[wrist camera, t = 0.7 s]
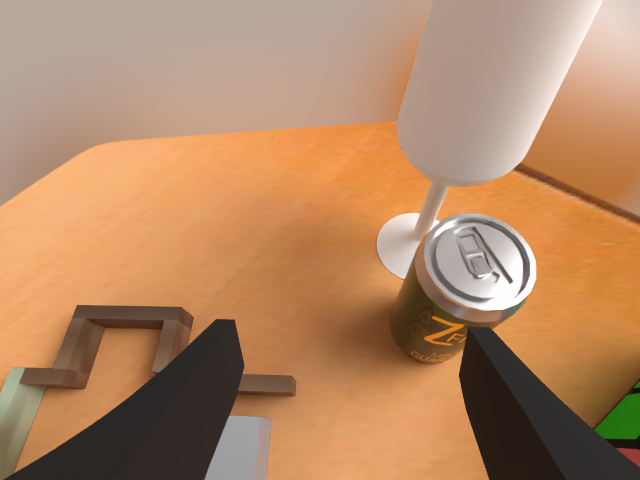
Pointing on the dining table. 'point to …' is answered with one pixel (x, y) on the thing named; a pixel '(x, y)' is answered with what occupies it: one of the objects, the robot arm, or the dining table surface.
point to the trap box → (77, 360)
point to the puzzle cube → (624, 426)
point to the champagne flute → (478, 98)
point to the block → (242, 450)
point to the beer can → (460, 285)
